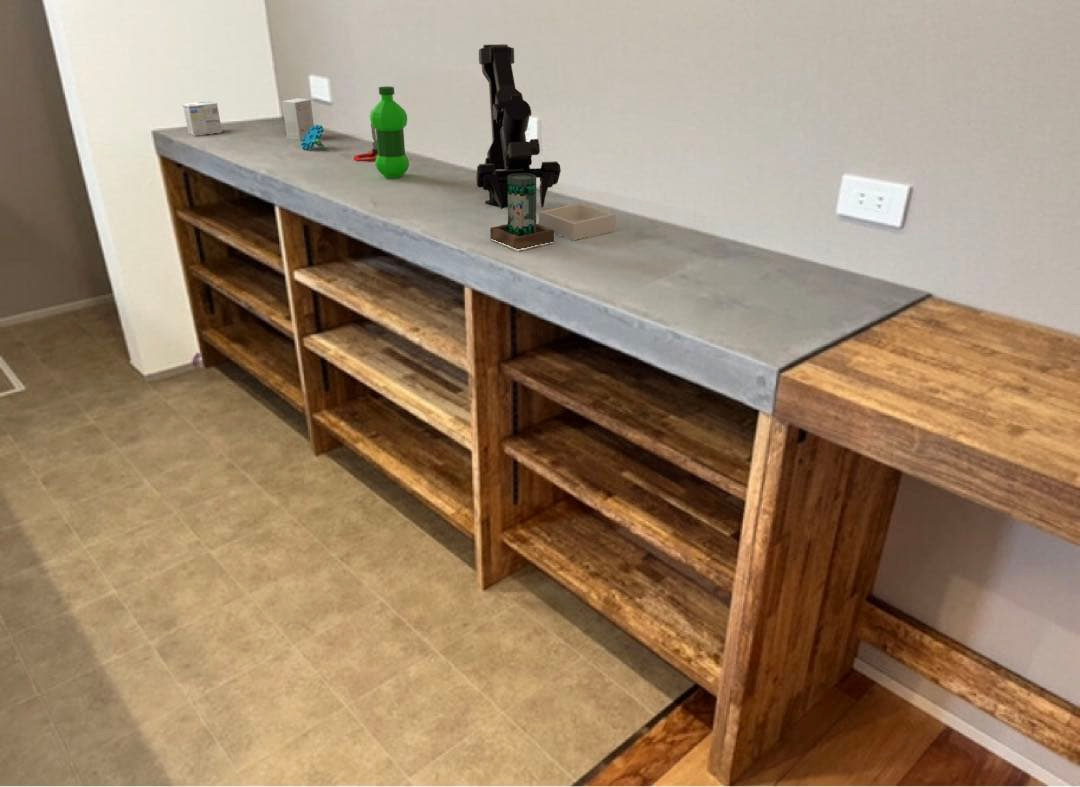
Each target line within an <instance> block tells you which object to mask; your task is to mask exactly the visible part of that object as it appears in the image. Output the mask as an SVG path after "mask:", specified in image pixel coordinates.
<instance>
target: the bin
mask: <svg viewBox="0 0 1080 787" xmlns="http://www.w3.org/2000/svg"><path fill="white" fill-rule="evenodd" d="M616 217H617V214H615V213H613V212H608V211H605V210H603V209H600V208H598V207H593V206H591V205H588V204H585V203H581V202H580V203H575V204H574V203H573V204H569V205H565V206H561V207H555V208H550V209H545V210H541V211H538V225H541V226H544V227H546V228H549V229H552V230H554V233H556V234H559V235H562V236H564V237H567V238H569V239H572V240H576V239H580V240H583V239H582V238H584V239H587V238H586V237H588V238H592V237H591V236H593V237H596V235H597V236H600V234H601V235H604V233H605V234H609V233H612V232H616V221H617V220H616V219H617V218H616ZM556 234H555V235H556ZM559 235H558V236H559ZM564 237H563V238H564ZM567 238H566V239H567ZM569 239H568V240H569ZM572 240H571V241H572ZM576 241H577V240H576Z"/></svg>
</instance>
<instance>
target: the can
mask: <svg viewBox="0 0 1080 787" xmlns="http://www.w3.org/2000/svg"><path fill="white" fill-rule="evenodd" d="M507 187H508V206H507V224H508V232H509V233H511V234H514V235H516V236H523V235H527V234H532V233H536V224H537V178H536V175H534V174H530V173H515V174H514V173H513V174H510V175H508V176H507Z"/></svg>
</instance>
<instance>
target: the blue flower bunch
mask: <svg viewBox="0 0 1080 787" xmlns="http://www.w3.org/2000/svg"><path fill="white" fill-rule="evenodd" d="M323 133H324V128H323V126H322V125H321V124H319V125H318V124H315V125H314V127H311V131H310V132H309V131H307V132H306V134H307V137H305V136H304V137H303V138H302V140H301V143H300V146H301V149H302V150H306V151H308V150H309V149H313V148H314V145H316V146H317V147H321V148H322V149H323V150H324V151H326V150H327V148H326V147H325V145H324V144H323V142H322V141H321V140H320V139H321V138H322V137H323Z"/></svg>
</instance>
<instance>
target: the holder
mask: <svg viewBox="0 0 1080 787" xmlns="http://www.w3.org/2000/svg"><path fill="white" fill-rule="evenodd" d="M489 229H490V235H489V236H490V240H491V239H493V240H496V241H498V242H501V243H504V244H506V245H509V246H511V247H513V248H516V249H521V248H527V247H531V246H535V245H540V244H545V243H550V242H554V243H555V234H554V230H552V229H549V228H546V227H544V226H541V225H539V223H536V233H532V234H527V235H523V236H516V235H514V234H511V233H509V232H508V223H506V224H501V225H498V226H492V227H490V228H489Z"/></svg>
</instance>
